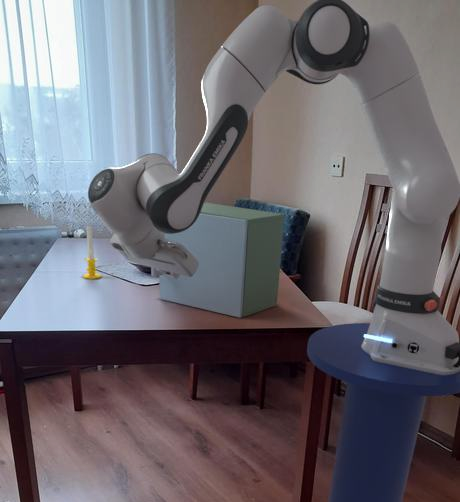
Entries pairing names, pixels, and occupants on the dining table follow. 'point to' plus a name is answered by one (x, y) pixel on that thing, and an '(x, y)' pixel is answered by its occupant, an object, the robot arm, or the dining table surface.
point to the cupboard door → (210, 266)
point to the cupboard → (257, 254)
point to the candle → (91, 257)
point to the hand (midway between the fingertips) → (174, 276)
